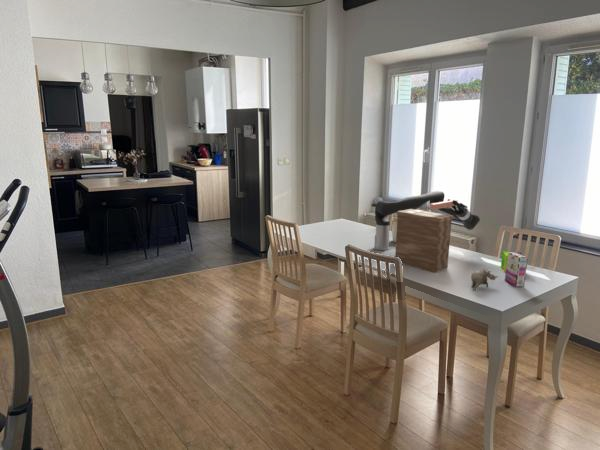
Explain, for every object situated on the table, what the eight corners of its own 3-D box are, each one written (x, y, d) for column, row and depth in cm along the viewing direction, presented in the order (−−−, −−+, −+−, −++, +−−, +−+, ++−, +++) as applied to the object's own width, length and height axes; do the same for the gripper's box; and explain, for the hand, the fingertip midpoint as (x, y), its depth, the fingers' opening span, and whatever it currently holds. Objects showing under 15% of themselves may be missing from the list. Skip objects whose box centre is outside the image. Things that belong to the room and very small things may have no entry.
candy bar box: (524, 287, 232) (528, 257, 229) (515, 287, 232) (519, 257, 228) (512, 280, 243) (516, 251, 239) (504, 280, 242) (507, 251, 239)
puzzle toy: (523, 273, 255) (525, 257, 253) (504, 272, 257) (506, 255, 255) (518, 268, 265) (520, 252, 263) (500, 267, 267) (502, 251, 264)
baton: (434, 209, 253) (434, 204, 252) (429, 209, 255) (429, 203, 255) (457, 205, 270) (457, 200, 269) (452, 204, 272) (453, 199, 272)
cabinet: (435, 273, 254) (439, 218, 247) (393, 261, 275) (396, 211, 268) (448, 268, 263) (453, 215, 257) (407, 257, 285) (411, 208, 278)
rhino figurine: (460, 283, 229) (475, 259, 230) (471, 293, 237) (486, 270, 238) (472, 289, 223) (488, 264, 224) (484, 299, 231) (499, 275, 232)
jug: (388, 242, 322) (390, 209, 317) (392, 238, 336) (394, 206, 331) (410, 245, 317) (412, 210, 311) (413, 240, 331) (415, 207, 325)
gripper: (453, 205, 284) (442, 194, 273) (474, 208, 274) (463, 196, 262) (449, 215, 283) (438, 205, 272) (470, 219, 273) (459, 208, 261)
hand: (450, 201), depth 267 cm, fingers closed on baton, 3 cm apart
